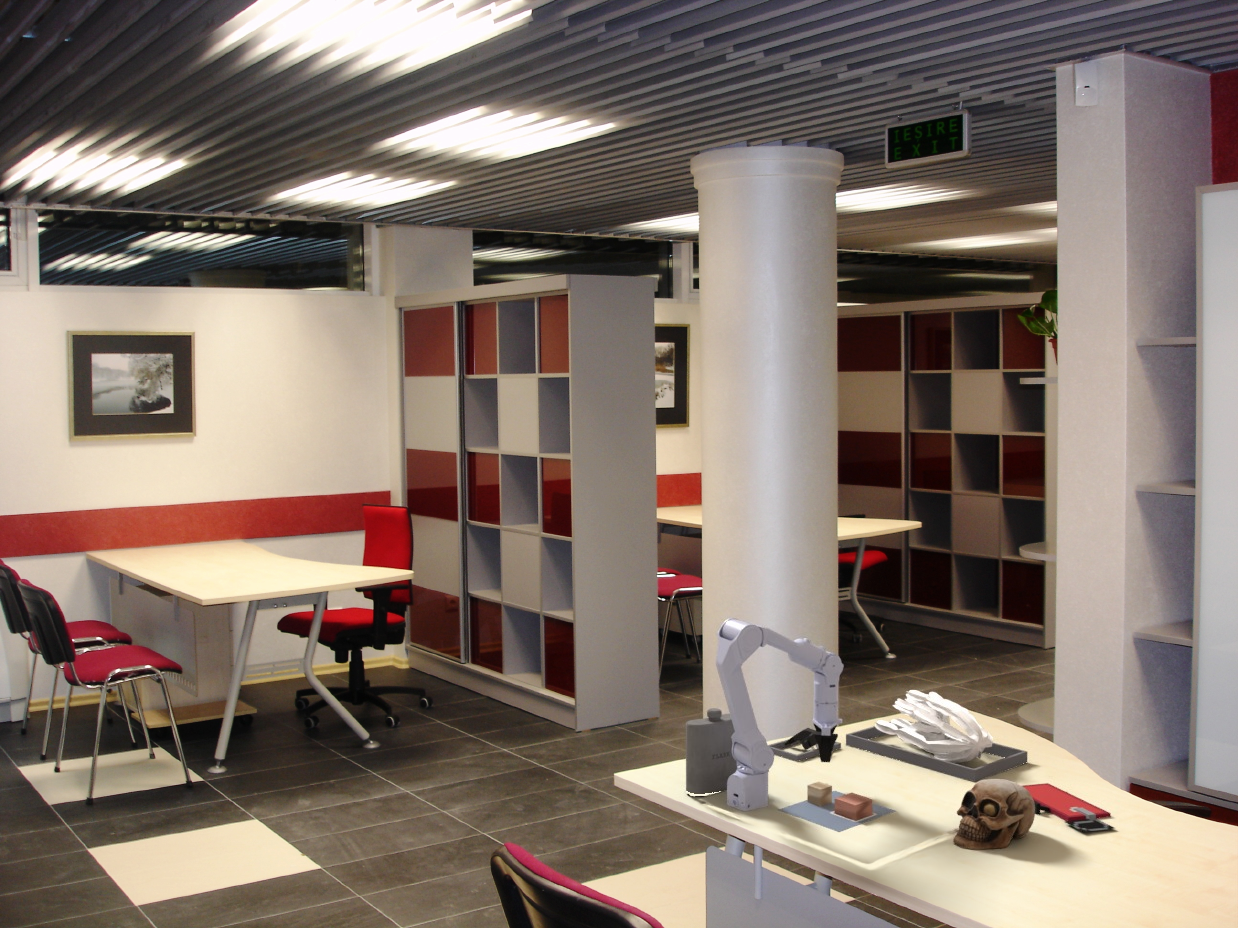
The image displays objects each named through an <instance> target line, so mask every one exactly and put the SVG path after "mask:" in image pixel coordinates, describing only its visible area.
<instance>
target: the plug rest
mask: <svg viewBox="0 0 1238 928" xmlns="http://www.w3.org/2000/svg"><path fill="white" fill-rule="evenodd" d="M789 739H790V738H789ZM789 739H785V740H781V741H778V742H774V743H771V744H767V745H768V746H769V747H770V748H771V749H772V751H773V753H774V756H778V757H781V756H782V757H781V758H785V759H787V758H788V759H787V760H790V759H792V760H791V761H794V760H795V761H794V762H800V761H799V760H801V761H804V760H806V758H807V759H811V758H814V757H818V756H820V754H819V748H818V749H817V748H815V749H814V750H812V749H811V750H808V751H804V752H801V753H798V754H796V753H792V752H789V751H786V750H784V749H782V748H786V747H789V746H790V747H791V746H794V745H798V744H801V743H800V741H799V740H798V741H796V742H794V743H792V744H790V745H789V744H788V745H785V744H786V742H787V741H788V740H789ZM839 748H841V749H842V742H838V741H837V740H836V741H835V743H834V746H833V750H834V751H837V750H836V749H838V750H840V749H839ZM833 750H832V752H834V751H833ZM803 759H804V760H803Z"/></svg>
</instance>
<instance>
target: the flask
mask: <svg viewBox="0 0 1238 928" xmlns="http://www.w3.org/2000/svg"><path fill="white" fill-rule="evenodd" d="M734 733H735V730H734V727H733V723H732V719H731V716H730V713H722V710H721V709H719V708H715V707H714V708H713V707H712V708H709V709H707V711H706V717H704V718H698V719H697V718H696V719H691V720H688V721H686V722H685V792H686V791H688V792H690V793H694V794H705V793H712V792H713V793H714V792H719V791H724V790H727V781H728V778H729V777H730V776H731V775H732V774H734V773H735V772H736V770H737V761H736V760H735V759H734V758H733V756H732V738H731V736H732V735H733V734H734ZM724 792H725V791H724Z"/></svg>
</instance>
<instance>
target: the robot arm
mask: <svg viewBox="0 0 1238 928" xmlns="http://www.w3.org/2000/svg"><path fill="white" fill-rule="evenodd" d="M716 636H717V639H718V640H717V641H718V643H717V651H716V657H715V666H716V669H717V673H718V676H719V679H720V683H721V687H722V690H723V695H724V697H725V701H726V705H727V709H728V712H729V714H730V716H731V719H732V723H733V727H734V730H735V733H734V734H733V735H732V736H731V738H732V756H733V758H734V759H735V760H736V761H737V770H736V772H735V773H734V774H732V775H731V776H730V777H729V778H728V781H727V791H726V805H727V806H729V807H731V808H734V809H737V810H740V811H743V812H749V811H751V810H755V809H760V808H764V807H767V806H768V804H769V772H770V769H771V768H772V766H773V765H774V762H775V755H774V753H773V751H772V749H771V748H770V747H769V746H768V745H769V744H768V743H767V740H766V738H765V736H764V735H763V733H762V732H761V731H760V729H759V728H758V727H759V726H758V724H757V720H756V716H755V713H754V709H753V706H752V701H751V698H750V695H749V691H748V688H747V684H746V681H745V677H744V673H743V669H742V666H743V664H744V663H745V662H746V661H747V660H748V659H749V658H750V657H751V656H752V655H753V654H754V653H755V652H756V651H757V650H759V648H760V647H761V648H764V647H765V646H766V645H768V646H769V647H773V648H775V649H777V650H780V651H782V652H785V653H787V654H788V655H787V656H788V658H789V660H790V661H791V662H793V663H795V664H797V665H800V666H801V667H804V668H806V669H808V670H810V671H812V673H813V718H812V723H813V726H814V728H815V729H814V730H816V731H817V732H814V737H815V739H816V741H817V744H818V748H819V754H820V755H819V759H820V762H821V763H831V759H832V754H833V751H832V750H833V746H834V743H835V741H836V742H837V739H838V737H839V734H838V733H835V730H836V728H837V727H838V726H837V725H839V724H843V718H839V717H838V714H839V711H838V709H839V708H838V707H839V705H838V704H839V682H840V675H841V674H842V673H843V670H844V665H845V664H844V663H842V659H841V658H840V656H839V655H838V654H836V653H833V652H830V651H827V649H826V647H825V646H823V645H820V646H818V645H816V644H814V643H811V642H812V640H811V639H809V638H807V637H806V638H805V637H803V638H797V639H794V640H792V639H790V638H788V637H786V636H785V635H783V634H781V633H778V632H777V631H775V630H772V629H771V628H768V627H765V626H763V625H760V624H756V623H753V622H748V621H744V620H740V619H738V618H735V617H729V618H727V619H726V620H724V622H722V624H721V626H720V627H719V629H718V631H717V632H716Z"/></svg>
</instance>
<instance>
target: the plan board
mask: <svg viewBox="0 0 1238 928" xmlns="http://www.w3.org/2000/svg"><path fill="white" fill-rule="evenodd" d="M846 794H847V793H844V792H841V791H837V790H832V803H830V804H827V805H824V806H821V807H820V806H818V805H815V804H812V803H809V802H807V799H806V800H803V801H800V802H799V801H798V802H797V803H793V804H791V805H787V806H785V807H780V808H779V809H777V811H780V812H783V813H785V814H788V815H790V816H794V817H797V818H799V819H802V820H804V821H807V822H811V823H813V824H815V825H819V826H820V827H824V828H827V829H828V830H829V829H830V830H833V831H835V832H837V833H841V832H843V831H846V830H848V829H851V828H854V827H856V826H859V825H862V824H864V823H865V824H866V823H867V822H870V821H873V820H876V819H878V818H881V817H885V816H887V815H889V814H892V813H895V812H896V810H895V809H892V808H888V807H886V806H884V805H879V804H876V803H874V802H873V815H870V816H867V817H864V818H862V819H859V820H856V821H855V820H852V819H849V818H846V817H843V816H840V815H838V814H835V798H837V797H840V796H843V795H846Z"/></svg>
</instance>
